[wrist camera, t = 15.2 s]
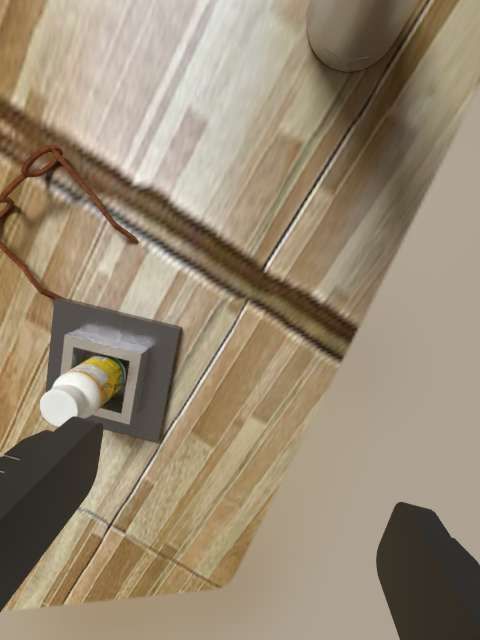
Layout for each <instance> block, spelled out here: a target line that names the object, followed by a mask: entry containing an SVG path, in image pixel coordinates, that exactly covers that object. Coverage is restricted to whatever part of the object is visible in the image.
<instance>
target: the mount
mask: <svg viewBox="0 0 480 640" xmlns="http://www.w3.org/2000/svg"><path fill="white" fill-rule="evenodd" d="M181 328H182V327H179V326H175V325H171V324H166V323H162V322H158V321H154V320H150V319H146V318H142V317H138V316H134V315H130V314H126V313H122V312H118V311H114V310H110V309H106V308H102V307H98V306H94V305H90V304H85V303H81V302H77V301H73V300H69V299H65V298H58V299H57V298H55V301H54V311H53V321H52V331H51V342H50V352H49V362H48V373H47V383H46V392H48V391H49V390H51V389H52V387H53V384H54V382H55V381H56V380H57V379H58V378H59V377H60V376H61V375H63V374H64V373H66V372H68V371H69V370H71V369H73V368H75V367H76V366H78V365H80V364H81V363H83V362H85V361H86V360H88V359H90V358H91V357H93V356H95V355H98V354H104V355H108V356H112V357H116V358H118V359H119V360H120V361H121V362H122V364H123V365H124V368H125V371H126V379H125V383H124V385H123V386H122V388H121V389H120V390H119V391H118V392H116V393H115V394H114V395H113V396H112V397H111V398H110V399H109V400H108V401H107V402H106V403H105V404H103V405H102V406H101V407H100V408H99V409H98V410H97V411H96V412H95V413H94V414H92V415H91V416H89V417H87V418H85V419H89V420H93V421H96V422H100V423H102V424H103V428H104V429H108V430H112V431H115V432H119V433H123V434H127V435H131V436H135V437H138V438H142V439H146V440H150V441H154V442H158V441H159V439H160V437H161V431H162V426H163V421H164V416H165V411H166V406H167V401H168V395H169V390H170V385H171V380H172V375H173V370H174V364H175V359H176V354H177V349H178V344H179V339H180V333H181Z"/></svg>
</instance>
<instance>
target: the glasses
mask: <svg viewBox="0 0 480 640" xmlns="http://www.w3.org/2000/svg"><path fill="white" fill-rule="evenodd" d="M48 152H52V153H53V155H54V156H55V157H54V159H53V160H52V161H51V162H50V163H49V164H48V165H47V166H45V167H44V168H42V169H40V170H38V171H29V168H30V166H31V165H32V164H33V162H34V161H35V160H36V159H38V158H39V157H40V156H42V155H43V154H45V153H48ZM62 155H63V152H62V150H61V149H60V148H59V147H58V146H56V145H48V146H45V147H42V148H40V149H39V150H37V151H36V152H34V153H33V154H32V155H31V156H30V157H29V158H28V159H27V160H26V161H25V163H24V164H23V166H22V170H21V173H22V174H21V175H20V176H18V177H17V178H16V179H15V180H13V181H12V183H11V184H10V185H9V186H8V187H7V188H6V189H5V190H4V191H3V192H2V193H1V195H0V203H4V202H5V203H7V205H6V207H5V208H4V209H3V210H2V211H1V212H0V218H2V217H3V216H4V215H5V214H6V213H7V212H8V211H9V210H10V209H11V208H12V207H13V205H14V201H13V200H12V199H11V198H8V197H7V196H8V195H9V194H10V193H11V192H12V191H13V190H14V189H15V188H16V187H17V186H18V185H19V184H20V183H21V182H22V181H23V180H24V179H26V178H27V177H37V176H41V175H43V174H45V173H46V172H48V171H49V170H51V169H52V168H53V167H54V166H55V165H56V164H57V163H58V162H59V161H60V163H61V164H62V165H63V166H64V167H65V168H66V169H67V170H68V172H69V173H70V174H71V175H72V176H73V177H74V178H75V179H76V181H77V182H78V183H79V184H80V185H81V186H82V187H83V189H84V190H85V191H86V192H87V193H88V194H89V195H90V196H91V198H92V199H93V200H94V201H95V203H96V204H97V206H98V207H99V209H100V210H101V212H102V213H103V215H104V216H105V217H106V218H107V220H108V221H109V222H110V224H111V225H112V226H113V227H114V228H115V229H116V230H118V231H119V232H121V233H122V234H123V235H125V236H126V237H128V238H129V239H130V240H132V241H133V242H135V243H136V244H137V243H138V242H139V241H138V240H137V239H136V238H135V236H133V235H132V234H130V233H129V232H128V231H126V230H125V229H124V228H122V227H121V226H119V225H118V224H117V223H116V222H115V221H114V220H113V218H112V217H111V216H110V215H109V213H108V212H107V211H106V209H105V208H104V206H103V205H102V203H101V202H100V200H99V199H98V197H97V196H96V195H95V194H94V193H93V192H92V191H91V189H90V188H89V187H88V186H87V185H86V184H85V183H84V181H83V180H82V179H81V178H80V177H79V176H78V175H77V173H76V172H75V171H74V170H73V169H72V168H71V167H70V165H69V164H68V163H67V162H66V161H65V160H64V159H63V158H62ZM0 249H2V250H3V251H4V252H5V253H6V254H7V255H8V256H9V257H10V258H11V259H12V260H13V261H14V262H15V263H16V264H17V265H18V266H19V267H20V268H21V269H22V270H23V272H24V273H25V275H26V276H27V278H28V279H29V281H30V282H31V283H32V284H33V285H34V286H35V288H36V289H37V290H38V291H39V292H40V293H41V294H43V295H45V296H48V297H50V298H52V299H54V300H55V298H57V299H58V298H63V297H61V296H59V295H57V294H54V293H52V292H50V291H48V290H46V289H44V288H42V286H41V285H40V284H39V283H38V281H37V280H36V279H35V278H34V277H33V275H32V274H31V272H30V270H29V269H28V267H27V266H26V265H25V264H24V263H23V262H22V261H21V260H20V259H19V258H18V257H17V256H16V255H15V254H14V253H13V252H12V251H11V250H10V249H9V248H8V247H6V246H5V245H4V244H3V243H2V242H1V241H0Z"/></svg>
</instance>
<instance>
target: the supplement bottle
mask: <svg viewBox="0 0 480 640" xmlns="http://www.w3.org/2000/svg"><path fill="white" fill-rule="evenodd" d="M125 379H126V371H125V368H124V365H123V364H122V362H121V361H120V360H119V359H118V358H116V357H112V356H108V355H104V354H98V355H95V356H93V357H91V358H90V359H88V360H86V361H85V362H83V363H81V364H80V365H78V366H76V367H75V368H73V369H71V370H69V371H68V372H66V373H64V374H63V375H61V376H60V377H59V378H58V379H57V380H56V381H55V382H54V384H53V387H52V389H51V390H49V391H48V392H46V393H45V394H44V395H43V397H42V398H41V401H40V410H41V413H42V415H43V416H44V418H45V419H46V420H47V421H48V422H49V423H51V424H52V425H55V426H58V427H60V426H61V425H62V424H63V423H65V422H66V421H67V420H68V419H69V418H71V417H73V416H77V417H81V418H87V417H89V416H91V415H92V414H94V413H95V412H96V411H97V410H98V409H99V408H100V407H101V406H102V405H103V404H105V403H106V402H107V401H108V400H109V399H110V398H111V397H112V396H113V395H114V394H115V393H116V392H118V391H119V390H120V389H121V388H122V386H123V385H124V383H125Z"/></svg>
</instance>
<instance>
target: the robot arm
mask: <svg viewBox="0 0 480 640" xmlns="http://www.w3.org/2000/svg"><path fill="white" fill-rule="evenodd" d="M418 2H419V0H309V6H308V13H307V34H308V39H309V42H310V45H311V47H312V49H313V51H314V52H315V54H316V56H317V57H318V58H319V59H320V60H321V61H322V62H323V63H324V64H326V65H327V66H329V67H330V68H333V69H336V70H338V71H345V72H353V71H360V70H362V69H365V68H367V67H370V66H371V65H373V64H374V63H376V62H378V61H379V60H380V59H381V58H382V57H383V56H384V55H385V54H386V53H387V52H388V50H389V49H390V48H391V46H392V45H393V43H394V42H395V40H396V38H397V37H398V35H399V33H400V32H401V30H402V28H403V27H404V25H405V23H406V22H407V20H408V18H409V17H410V15H411V14H412V12H413V10H414V9H415V7H416V5H417V4H418ZM102 436H103V424H102V423H100V422H96V421H93V420H89V419H85V418H81V417H77V416H73V417H71V418H69V419H68V420H67V421H66V422H65V423H63V424H62V425H61V426H60V427H59V428H57V429H56V430H55V431H54V432H52V431H48V430H45V431H42V432H40V433H37V434H35V435H33V436H30V437H28V438H25V439H23V440H22V441H20V442H19V443H18V444H16V445H15V446H14V447H13V448H11V449H10V450H9V451H7V452H6V453H5V454H4V456H3V457H0V612H1V611H2V609H3V608H4V607H5V605H6V604H7V603H8V601H9V600H10V599H11V597H12V596H13V595H14V593H15V592H16V590H17V589H18V588H19V586H20V585H21V584H22V582H23V581H24V580H25V578H26V577H27V576H28V574H29V573H30V572H31V570H32V569H33V568H34V566H35V565H36V564H37V562H38V561H39V560H40V558H41V557H42V556H43V554H44V553H45V552H46V550H47V549H48V548H49V546H50V545H51V544H52V542H53V541H54V540H55V538H56V537H57V536H58V534H59V533H60V531H61V530H62V529H63V527H64V526H65V525H66V523H67V522H68V521H69V519H70V518H71V517H72V515H73V514H74V513H75V511H76V510H77V509H78V507H79V506H80V505H81V503H82V502H83V501H84V499H85V498H86V496H87V495H88V493H89V492H90V490H91V488H92V486H93V483H94V481H95V478H96V474H97V470H98V463H99V456H100V449H101V442H102ZM376 562H377V563H376V564H377V572H378V577H379V580H380V583H381V585H382V589H383V592H384V594H385V597H386V600H387V603H388V606H389V609H390V612H391V615H392V617H393V621H394V624H395V626H396V629H397V632H398V635H399V638H400V640H480V565H479V564H478V562H477V561H476V560H475V559H474V558H473V557H472V556H471V555H470V554H469V553H468V552H467V551H466V550H465V549H464V548H463V547H462V546H461V545H460V544H459V543H458V542H457V540H456V539H454V538H451V536H450V534H449V533H448V531H447V530H446V528H445V527H444V525H443V524H442V522H441V521H440V519H439V518H438V516H437V515H436V513H435V512H433V511H432V510H430V509H426V508H423V507H419V506H415V505H411V504H408V503H403V502H399V503H397V504H396V506H395V507H394V510H393V512H392V514H391V517H390V520H389V522H388V524H387V527H386V529H385V532H384V534H383V537H382V539H381V542H380V544H379V547H378V550H377V558H376Z"/></svg>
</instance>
